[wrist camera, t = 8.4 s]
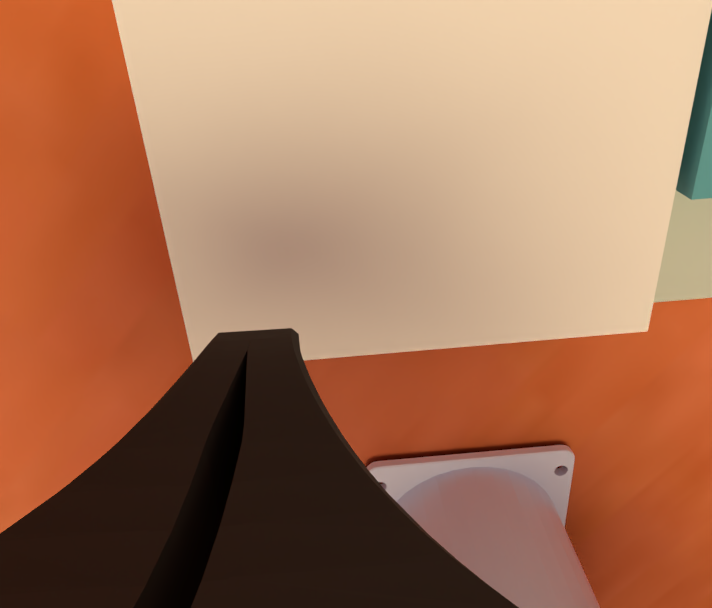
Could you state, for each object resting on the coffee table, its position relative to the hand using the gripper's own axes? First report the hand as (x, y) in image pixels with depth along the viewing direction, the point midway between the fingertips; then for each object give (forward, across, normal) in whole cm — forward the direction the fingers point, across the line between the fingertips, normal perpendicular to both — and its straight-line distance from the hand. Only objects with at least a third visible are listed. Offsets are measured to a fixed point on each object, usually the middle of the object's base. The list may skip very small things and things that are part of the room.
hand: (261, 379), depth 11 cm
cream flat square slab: (+9, -4, -3) cm, 10 cm away
